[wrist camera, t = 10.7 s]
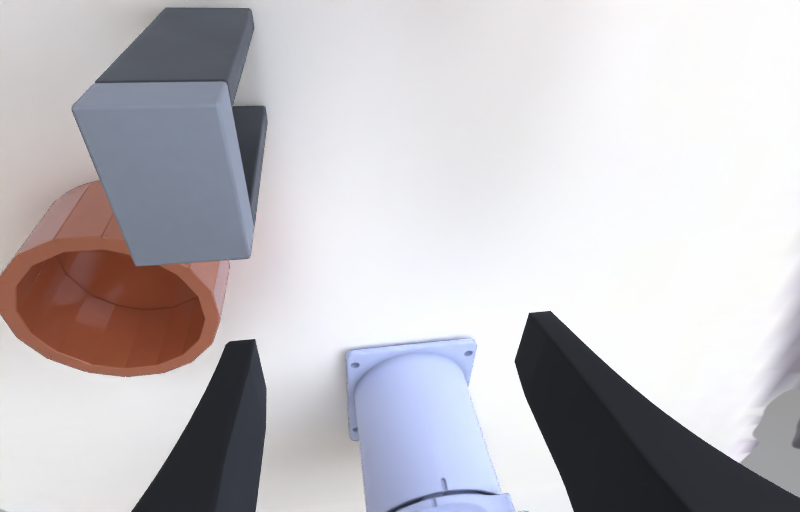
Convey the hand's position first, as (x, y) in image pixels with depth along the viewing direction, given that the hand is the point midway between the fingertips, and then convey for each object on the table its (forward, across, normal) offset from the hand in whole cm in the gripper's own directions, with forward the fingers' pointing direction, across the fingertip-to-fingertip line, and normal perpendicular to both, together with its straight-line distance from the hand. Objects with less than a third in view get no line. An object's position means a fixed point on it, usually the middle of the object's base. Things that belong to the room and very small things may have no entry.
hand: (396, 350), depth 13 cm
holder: (+10, +10, +4) cm, 15 cm away
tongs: (+10, +5, -4) cm, 12 cm away
